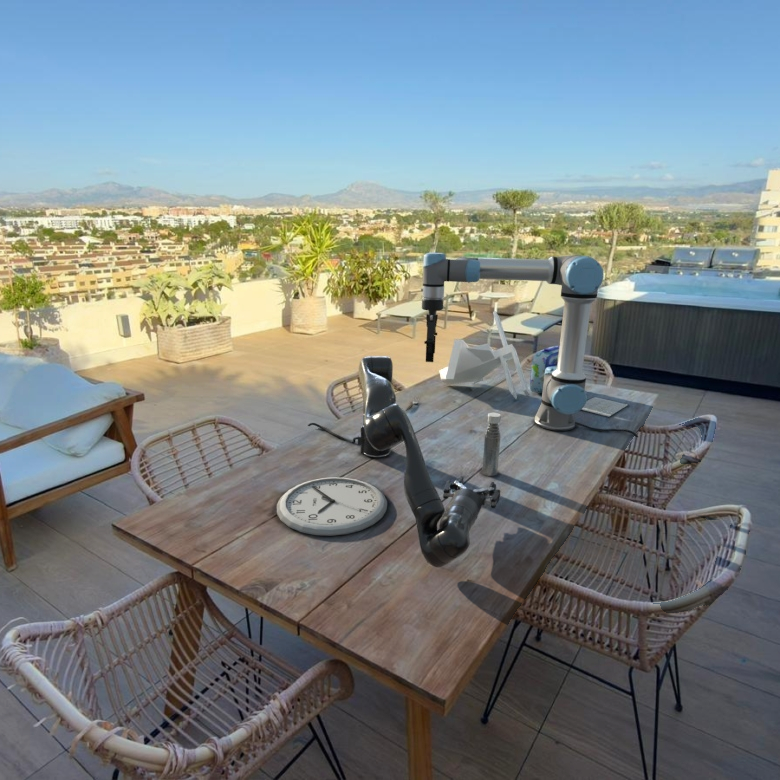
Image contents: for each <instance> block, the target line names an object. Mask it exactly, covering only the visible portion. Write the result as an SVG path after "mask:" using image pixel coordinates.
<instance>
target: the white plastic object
mask: <svg viewBox="0 0 780 780" xmlns="http://www.w3.org/2000/svg"><path fill="white" fill-rule="evenodd" d="M492 315H493V319H494V321H495V324H496V325H495V326H496V328H497V332H498V335H499V338H500V342H501V345H502V347H500V348H498V349H496V350H495V349H493V348H492V347H491V346H490V344H489V343H488V342H487V343H483V344H479V345H473V346H469V345H468V343H466V342H465V340H464V339H463V338H460V339H458V338H454V340H453V344H452V349H451V353H450V357H449V362H448V366H446V367H444V368H442V369H440V370H439V371H438V372H439V376H440V381H442V383H443V384H444V385H445V386H449V385H458V384H467V383H468V384H469V383H473V384H477V383H480V382H482V381H484V378H485V377H486V376H487V375H489V374H490V373H492V372H494V371H495V370H496V369H497V368H499V367H500V366H502V370H503V373H504V376H505V380H506V383H507V386H508V390H509V393H510V394H511V395H512V397H513V398H514V399H515V400H517V392H516V391H517V390H516V388H515V385H514V381H513V378H512V375H511V371H510V369H509V365H508V361H510V360H513V363H514V366H515V369H516V372H517V376H518V380H519V382H520V385H521V389H522V391H523V393H524V395H525V396H526V397H528V396H531V395H530V389H529V388H528V387H529V386H528V384H527V381H526V378H525V375H524V371H523V369H522V368H523V367H522V366H521V362H520V359H519V355H518V352H517V349H516V347H515V346H514V345H513V343H511V344H508V341H507V337H506V334H505V331H504V328H503V325H502V321H501V318H500V315H499V314H498V312H497V311H496V310H495V311H492Z"/></svg>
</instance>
